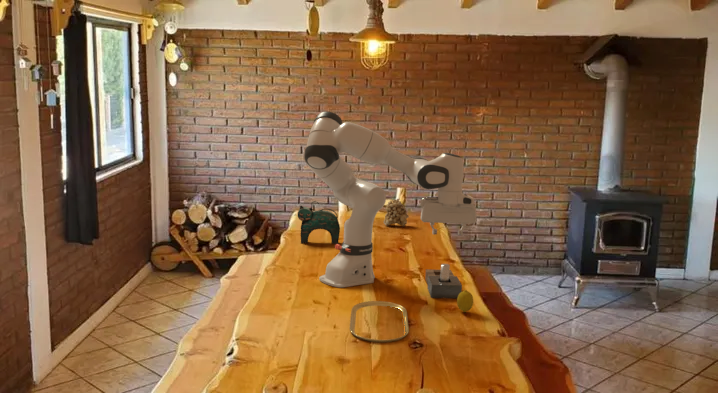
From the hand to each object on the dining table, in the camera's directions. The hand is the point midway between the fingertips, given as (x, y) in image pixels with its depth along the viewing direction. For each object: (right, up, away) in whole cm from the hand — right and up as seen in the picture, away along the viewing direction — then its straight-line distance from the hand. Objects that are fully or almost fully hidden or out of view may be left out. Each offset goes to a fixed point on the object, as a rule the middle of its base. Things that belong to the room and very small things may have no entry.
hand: (447, 234), depth 252 cm
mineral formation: (-13, -2, +110) cm, 111 cm away
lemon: (+4, -26, -15) cm, 31 cm away
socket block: (-1, -20, +16) cm, 26 cm away
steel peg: (-1, -22, +4) cm, 23 cm away
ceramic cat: (-52, -8, +72) cm, 89 cm away
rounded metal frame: (-26, -28, -27) cm, 47 cm away
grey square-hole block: (-1, -22, +4) cm, 23 cm away
